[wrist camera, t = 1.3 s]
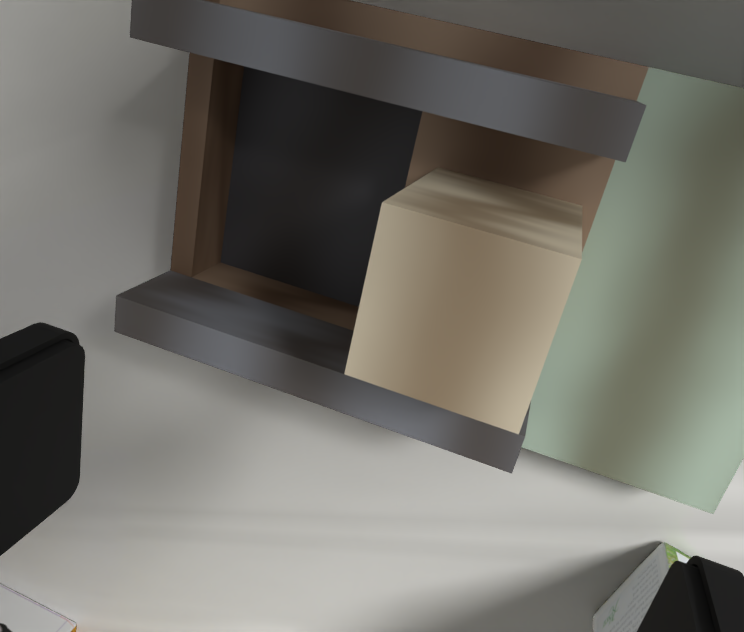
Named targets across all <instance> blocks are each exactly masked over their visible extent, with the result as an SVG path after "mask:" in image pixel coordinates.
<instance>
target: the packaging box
mask: <svg viewBox="0 0 744 632" xmlns="http://www.w3.org/2000/svg"><path fill="white" fill-rule="evenodd" d="M0 632H76V623H75V622H73V621H71V620H69V619H68V618H66V617H64V616H62V615H60V614H58V613H56V612H54V611H52V610H50V609H48V608H46V607H44V606H42V605H41V604H39V603H37V602H35V601H33V600H31V599H29V598H27V597H25V596H23V595H21V594H19V593H17V592H15V591H13V590H12V589H10V588H8V587H6V586H4V585H2V584H0Z"/></svg>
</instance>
